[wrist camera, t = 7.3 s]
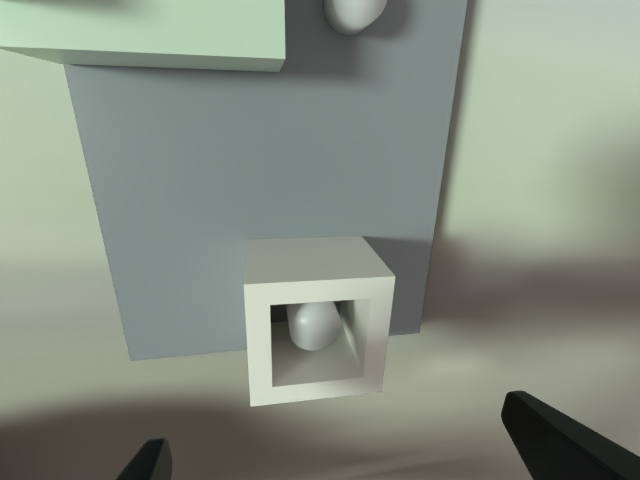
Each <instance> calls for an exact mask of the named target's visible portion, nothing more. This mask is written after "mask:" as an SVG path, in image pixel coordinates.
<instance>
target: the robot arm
mask: <svg viewBox="0 0 640 480" xmlns="http://www.w3.org/2000/svg"><path fill="white" fill-rule="evenodd" d="M501 418H502V421H503V424H504V426H505V428H506V430H507V431H508V433H509V435H510V437H511V439H512V441H513V443H514V445H515V446H516V448H517V450H518V452H519V454H520V456H521V458H522V460H523V462H524V463H525V465H526V467H527V469H528V471H529V473H530V475H531V476H532V478H533V480H640V457H639V456H637V455H635V454H634V453H632V452H630V451H628V450H627V449H625V448H623V447H621V446H620V445H618V444H616V443H614V442H613V441H611V440H609V439H607V438H606V437H604V436H602V435H600V434H599V433H597V432H595V431H593V430H592V429H590V428H588V427H586V426H585V425H583V424H581V423H579V422H577V421H576V420H574V419H572V418H570V417H569V416H567V415H565V414H563V413H562V412H560V411H558V410H556V409H555V408H553V407H551V406H549V405H548V404H546V403H544V402H542V401H541V400H539V399H537V398H535V397H534V396H532V395H530V394H528V393H526V392H524V391H512V392H508V393H507V394H506V397H505V401H504V404H503V408H502V412H501ZM171 474H172V458H171V453H170V448H169V443H168V440H167V438H166V437H162V438H154V439H149V440H148V441H147V442H146V443H145V444H144V445H143V446H142V447H141V449H140V450H139V451H138V452H137V454H136V455H135V456H134V457H133V459H132V460H131V461H130V462H129V463H128V465H127V466H126V467H125V468H124V470H123V471H122V472H121V473H120V475H119V476H118V477H117V478H116V480H171Z"/></svg>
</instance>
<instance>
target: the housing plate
mask: <svg viewBox="0 0 640 480" xmlns="http://www.w3.org/2000/svg"><path fill="white" fill-rule="evenodd" d="M467 1H468V0H284V4H285V61H284V63H283V65H282V67H281V69H280V71H279V72H264V71H238V70H212V69H185V68H159V67H133V66H106V65H80V64H64V69H65V73H66V78H67V82H68V87H69V91H70V95H71V100H72V104H73V109H74V113H75V117H76V122H77V126H78V131H79V135H80V139H81V144H82V148H83V153H84V157H85V161H86V166H87V170H88V175H89V179H90V183H91V188H92V192H93V197H94V201H95V205H96V210H97V214H98V219H99V223H100V228H101V232H102V236H103V241H104V245H105V250H106V254H107V258H108V263H109V267H110V272H111V276H112V280H113V285H114V289H115V294H116V298H117V302H118V307H119V311H120V316H121V320H122V324H123V329H124V333H125V338H126V342H127V347H128V351H129V355H130V360H131V361H135V360H145V359H156V358H166V357H176V356H186V355H197V354H207V353H217V352H228V351H238V350H247V335H246V317H245V300H244V274H245V262H246V251H247V240H254V239H285V238H317V237H348V236H362V237H363V238H364V239H365V241H366V242H367V243H368V244H369V245H370V247H371V248H372V249H373V250H374V251H375V253H376V254H377V255H378V256H379V257H380V258H381V260H382V261H383V262H384V263H385V264H386V266H387V267H388V268H389V269H390V270H391V272H392V273H393V274H394V275H395V285H394V293H393V301H392V309H391V318H390V326H389V334H388V336H392V335H403V334H413V333H419V332H420V326H421V319H422V312H423V305H424V298H425V291H426V284H427V277H428V270H429V263H430V256H431V250H432V243H433V236H434V229H435V222H436V215H437V208H438V201H439V194H440V187H441V181H442V174H443V167H444V160H445V153H446V146H447V139H448V132H449V125H450V118H451V111H452V105H453V98H454V91H455V84H456V77H457V70H458V63H459V56H460V49H461V42H462V35H463V29H464V22H465V15H466V8H467ZM270 318H271V323H273V322H287V321H288V324H289V331H290V336H291V339H292V341H293V342H294V343H295V344H296V345H297V346H298V347H300V348H302V349H305V350H310V351H316V350H321V349H324V348H326V347H328V346H330V345H331V344H333V343H334V342H335V341H336V340H337V338H338V337H339V335H340V333H341V329H342V323H341V319H340V301H325V302H310V303H295V304H279V305H270Z"/></svg>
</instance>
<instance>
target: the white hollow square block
mask: <svg viewBox="0 0 640 480" xmlns="http://www.w3.org/2000/svg"><path fill="white" fill-rule="evenodd" d="M394 285H395V275H394V274H393V273H392V272H391V270H390V269H389V268H388V267H387V266H386V264H385V263H384V262H383V261H382V260H381V258H380V257H379V256H378V255H377V254H376V253H375V251H374V250H373V249H372V248H371V247H370V245H369V244H368V243H367V242H366V241H365V239H364V238H363V237H362V236H348V237H317V238H285V239H254V240H247V251H246V262H245V274H244V300H245V317H246V335H247V352H248V370H249V387H250V405H251V407H252V406H261V405H270V404H278V403H287V402H296V401H304V400H313V399H322V398H330V397H339V396H348V395H356V394H365V393H374V392H382V384H383V376H384V368H385V359H386V351H387V343H388V334H389V326H390V318H391V309H392V301H393V293H394ZM325 301H340V319H341V323H342V329H341V333H340V335H339V337H338V338H337V340H336V341H335V342H334V343H333V344H331V345H330V346H328V347H326V348H324V349H321V350H316V351H310V350H305V349H302V348H300V347H298V346H297V345H296V344H295V343H294V342H293V341H292V339H291V336H290V331H289V324H288V321H287V322H273V323H271V318H270V305H279V304H295V303H310V302H325Z"/></svg>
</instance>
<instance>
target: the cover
mask: <svg viewBox="0 0 640 480" xmlns="http://www.w3.org/2000/svg"><path fill="white" fill-rule="evenodd" d="M0 49H3V50H7V51H11V52H15V53H19V54H23V55H27V56H31V57H35V58H39V59H43V60H47V61H51V62H55V63H59V64H80V65H106V66H133V67H159V68H185V69H212V70H238V71H264V72H279V71H280V69H281V67H282V65H283V63H284V61H285V4H284V0H0Z"/></svg>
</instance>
